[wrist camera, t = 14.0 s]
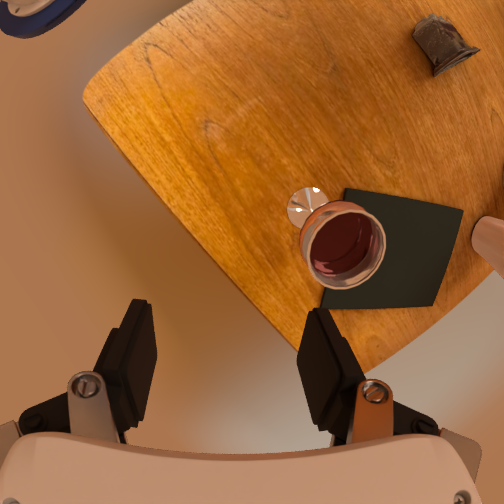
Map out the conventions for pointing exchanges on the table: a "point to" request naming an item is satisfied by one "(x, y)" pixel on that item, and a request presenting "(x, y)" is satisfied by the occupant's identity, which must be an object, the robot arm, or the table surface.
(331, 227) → the wineglass
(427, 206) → the mat
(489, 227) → the cup
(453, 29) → the checkered cake slice
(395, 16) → the table surface
